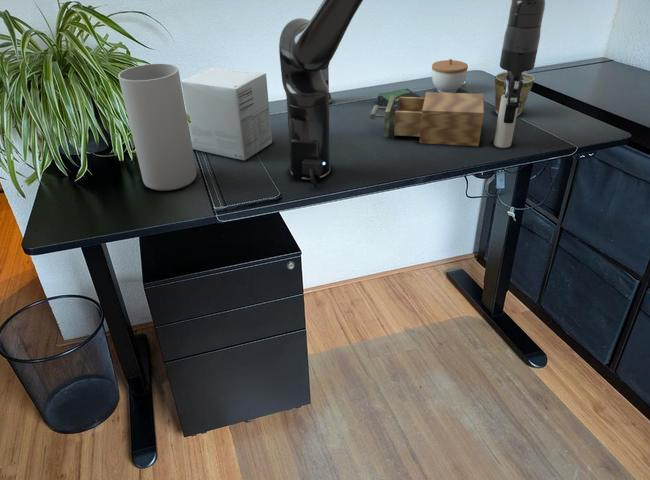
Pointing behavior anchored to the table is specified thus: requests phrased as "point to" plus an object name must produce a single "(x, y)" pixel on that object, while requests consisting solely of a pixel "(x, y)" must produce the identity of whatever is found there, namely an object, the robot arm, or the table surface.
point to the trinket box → (448, 75)
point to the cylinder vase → (159, 125)
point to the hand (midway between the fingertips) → (507, 116)
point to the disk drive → (385, 97)
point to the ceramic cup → (500, 90)
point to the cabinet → (452, 118)
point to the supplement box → (228, 112)
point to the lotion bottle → (504, 126)
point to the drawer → (402, 116)
